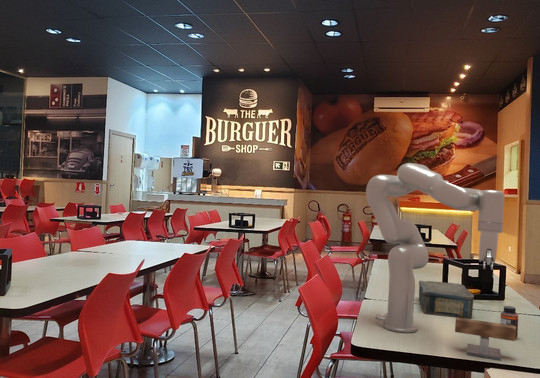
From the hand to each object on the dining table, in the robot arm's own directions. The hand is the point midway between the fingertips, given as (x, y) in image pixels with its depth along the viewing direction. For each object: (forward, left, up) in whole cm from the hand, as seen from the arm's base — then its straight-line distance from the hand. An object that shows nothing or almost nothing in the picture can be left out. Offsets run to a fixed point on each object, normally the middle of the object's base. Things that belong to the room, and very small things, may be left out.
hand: (486, 279), depth 161 cm
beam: (0, 0, -18) cm, 18 cm away
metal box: (-16, +63, -25) cm, 69 cm away
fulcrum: (0, 0, -24) cm, 24 cm away
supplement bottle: (+9, +27, -25) cm, 37 cm away
